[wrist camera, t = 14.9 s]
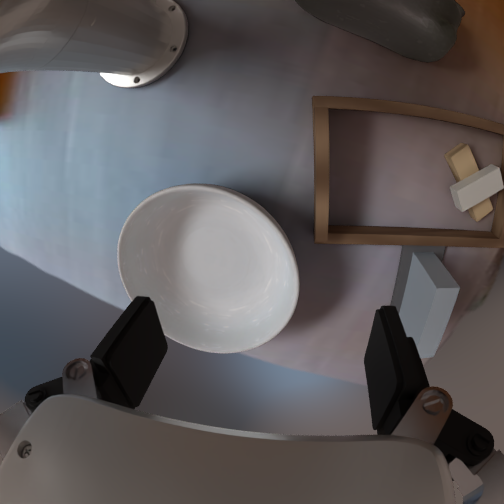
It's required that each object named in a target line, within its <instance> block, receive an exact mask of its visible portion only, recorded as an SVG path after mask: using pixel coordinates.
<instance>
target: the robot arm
mask: <svg viewBox="0 0 504 504" xmlns="http://www.w3.org/2000/svg"><path fill="white" fill-rule="evenodd" d="M173 10H174V11H173ZM187 37H188V21H187V17H186V15H185V12H184V11H183V9H182V8H181V7H180V5H178V4H177V3H176V2H175V1H173V0H0V73H4V72H14V71H44V70H51V71H82V72H97V73H100V75H101V76H102V77H103V78H104V79H105V80H106V81H107V82H108V83H110V84H112V85H114V86H117V87H122V88H137V87H142V86H145V85H147V84H150V83H152V82H154V81H156V80H157V79H159V78H161V77H162V76H163V75H164V74H165V73H167V72H168V71H169V70H170V69H171V67H172V66H173V65H174V64H175V63H176V62H177V60H178V58H179V57H180V55H181V54H182V52H183V49H184V47H185V45H186V41H187ZM176 48H177V50H176V51H175V49H176ZM139 80H140V82H139ZM167 348H168V347H167V342H166V339H165V336H164V333H163V330H162V326H161V323H160V320H159V317H158V313H157V310H156V307H155V303H154V301H152V300H151V299H150V297H145V296H136V297H135V298H134V300H133V301H132V302H131V303H130V305H129V306H128V307H127V308H126V310H125V311H124V312H123V314H122V315H121V316H120V318H119V319H118V320H117V321H116V323H115V324H114V325H113V327H112V328H111V329H110V330H109V332H108V333H107V334H106V336H105V337H104V339H103V340H102V341H101V342H100V344H99V345H98V346H97V348H96V349H95V350H94V352H93V353H92V355H91V358H92V359H91V360H90V361H88V360H86V359H82V358H79V359H75V360H72V361H70V362H69V363H68V364H67V365H66V366H65V367H64V369H63V373H62V377H60V378H57V379H54V380H52V381H49V382H46V383H43V384H40V385H38V386H35V387H33V388H31V389H30V390H29V391H28V393H27V394H26V396H25V402H23V401H22V400H21V401H20V402H18V403H16V404H15V405H13V406H12V407H10V408H9V409H7V410H6V411H4V412H3V413H1V414H0V454H1V457H2V460H3V462H2V464H1V466H0V504H456V501H455V492H454V486H453V481H455V482H456V483H457V484H458V486H459V487H458V490H459V491H460V492H461V494H462V496H463V504H504V454H503V453H502V452H501V451H500V450H498V451H496V450H495V449H494V439H493V436H492V434H491V433H490V432H489V431H488V430H487V429H485V428H484V427H482V426H480V425H479V424H477V423H475V422H473V421H472V420H470V419H468V418H466V417H465V416H463V415H461V414H460V413H458V412H456V411H454V410H453V409H452V407H453V402H452V398H451V396H450V395H449V394H448V392H447V391H445V390H444V389H442V388H439V387H430V386H429V383H428V380H427V377H426V374H425V370H424V367H423V364H422V361H421V358H420V355H419V353H418V350H417V347H416V344H415V341H414V339H413V338H412V337H407V336H406V333H405V330H404V327H403V324H402V322H401V319H400V316H399V314H398V311H397V308H396V306H381V308H380V309H377V310H376V313H375V317H374V321H373V326H372V330H371V334H370V338H369V342H368V346H367V349H366V353H365V358H364V365H365V371H366V378H367V385H368V392H369V400H370V408H371V416H372V426H373V429H374V430H377V434H378V435H349V436H348V435H346V436H314V435H313V436H312V435H310V436H309V435H285V434H270V433H258V432H249V431H240V430H232V429H225V428H218V427H211V426H205V425H200V424H195V423H189V422H184V421H179V420H175V419H170V418H166V417H161V416H157V415H153V414H149V413H146V412H141V411H138V410H135V407H137V406H139V405H140V403H141V401H142V399H143V397H144V395H145V393H146V391H147V389H148V387H149V385H150V383H151V381H152V379H153V377H154V375H155V373H156V371H157V369H158V368H159V366H160V364H161V362H162V360H163V358H164V356H165V354H166V352H167Z"/></svg>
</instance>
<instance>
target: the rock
mask: <svg viewBox="0 0 504 504" xmlns="http://www.w3.org/2000/svg"><path fill="white" fill-rule="evenodd" d="M295 1H296V2H297V3H298V4H299V5H300V6H301V7H302V8H303V9H304V10H306V11H307V12H308V13H310V14H312V15H313V16H315V17H317V18H318V19H320V20H322V21H324V22H326V23H328V24H331V25H333V26H336V27H338V28H341V29H343V30H346V31H348V32H351V33H353V34H356V35H358V36H361V37H364V38H366V39H369V40H371V41H373V42H375V43H378V44H380V45H382V46H384V47H386V48H388V49H390V50H392V51H394V52H396V53H398V54H400V55H402V56H405V57H407V58H411V59H414V60H418V61H422V62H433V61H437V60H439V59H441V58H442V57H443V56H444V55H445V54H446V53H447V52H448V51H449V50H450V49H451V48H452V46H453V45H454V44H455V41H456V39H457V35H456V32H457V29H458V27H459V25H460V22H461V18H462V17H463V16H464V15H465V11H464V10H463V8H462V7H461V6H460V5H459V4H458V3H457V2H456V1H455V0H295Z"/></svg>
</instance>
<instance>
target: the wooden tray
mask: <svg viewBox="0 0 504 504" xmlns="http://www.w3.org/2000/svg"><path fill="white" fill-rule="evenodd" d="M312 109H313V136H314V244H370V245H417V246H455V247H489V248H504V188H503V189H502V190H500V191H498V197H497V203H496V209H495V215H494V220H493V225H492V229H491V232H487V231H470V230H452V229H432V228H408V227H379V226H340V225H328V216H329V118H328V109H343V110H360V111H373V112H384V113H393V114H401V115H409V116H416V117H423V118H429V119H435V120H441V121H446V122H451V123H456V124H461V125H465V126H470V127H474V128H478V129H482V130H486V131H490V132H494V133H497V134H501V135H503V152H502V164H501V176H502V181H503V185H504V125H503V124H500V123H496V122H493V121H490V120H486V119H482V118H479V117H475V116H471V115H467V114H463V113H458V112H454V111H449V110H445V109H439V108H434V107H429V106H423V105H417V104H410V103H403V102H396V101H387V100H378V99H367V98H353V97H334V96H313V97H312Z"/></svg>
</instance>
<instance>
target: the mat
mask: <svg viewBox="0 0 504 504" xmlns="http://www.w3.org/2000/svg"><path fill="white" fill-rule="evenodd" d="M444 251H445V246H417V245H402V251H401V257H400V262H399V268H398V273H397V278H396V283H395V287H394V292H393V296H392V301H391V305H390V306H396V308H397V311H398V314H399V312H400V308H401V304H402V301H403V297H404V293H405V288H406V284H407V280H408V275H409V270H410V266H411V261H412V255H413V252H434V254H435V255H436V256H437V257H438V259H439V260H440V261H441V262H442V259H443V255H444Z"/></svg>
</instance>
